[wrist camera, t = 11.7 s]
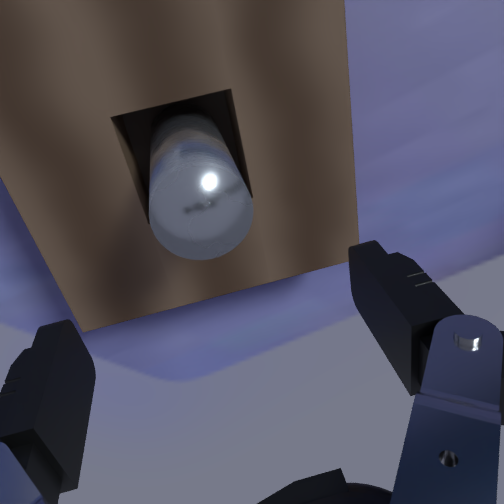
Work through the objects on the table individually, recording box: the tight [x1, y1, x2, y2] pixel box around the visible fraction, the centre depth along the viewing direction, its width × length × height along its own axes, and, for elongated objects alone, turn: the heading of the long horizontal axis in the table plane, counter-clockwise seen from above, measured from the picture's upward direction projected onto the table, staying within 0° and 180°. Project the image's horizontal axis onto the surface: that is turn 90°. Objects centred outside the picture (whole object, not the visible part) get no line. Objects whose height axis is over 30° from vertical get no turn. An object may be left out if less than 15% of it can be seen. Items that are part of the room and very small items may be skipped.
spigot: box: [149, 103, 253, 260], centre depth 22 cm, size 4×4×11 cm
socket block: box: [0, 0, 359, 332], centre depth 25 cm, size 18×18×5 cm
